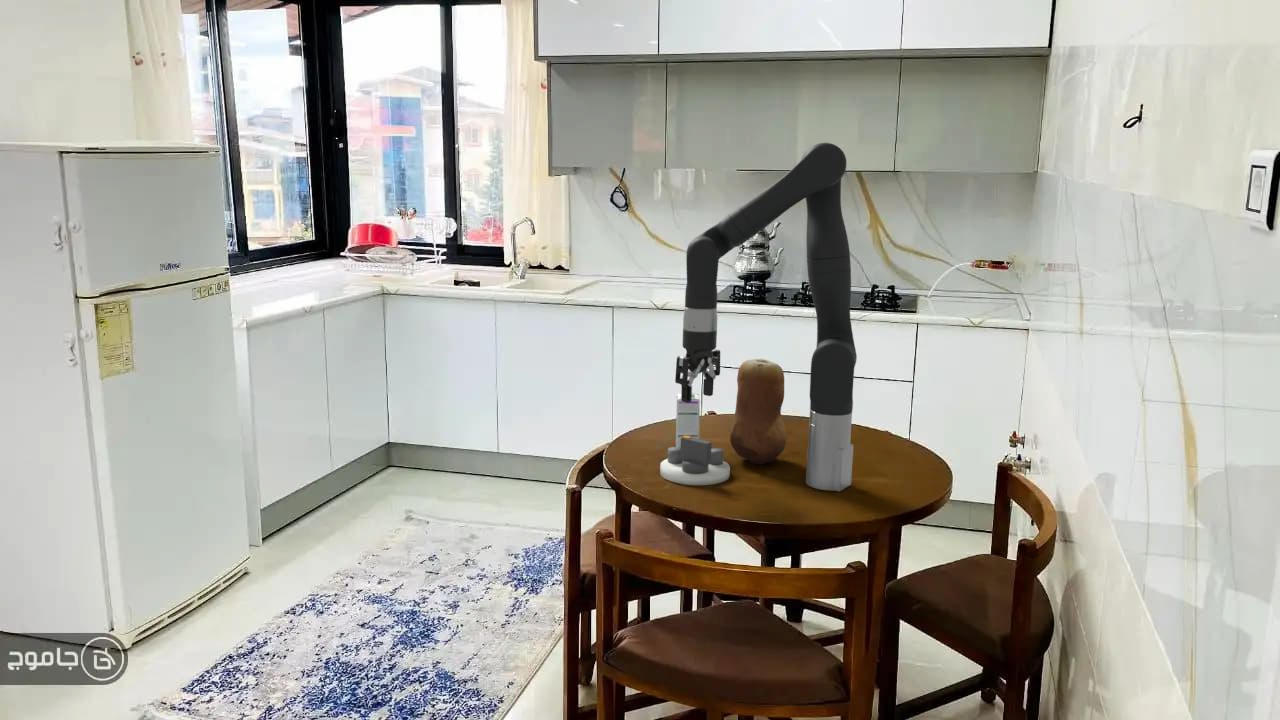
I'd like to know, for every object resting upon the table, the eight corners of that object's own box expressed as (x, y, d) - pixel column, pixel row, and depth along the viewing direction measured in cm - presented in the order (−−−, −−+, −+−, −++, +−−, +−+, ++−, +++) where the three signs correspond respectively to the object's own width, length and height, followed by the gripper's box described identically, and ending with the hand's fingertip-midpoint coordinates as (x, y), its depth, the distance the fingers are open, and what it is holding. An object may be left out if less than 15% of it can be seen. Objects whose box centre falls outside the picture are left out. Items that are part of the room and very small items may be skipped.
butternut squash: (791, 457, 233) (797, 358, 228) (776, 473, 221) (781, 368, 216) (738, 450, 239) (742, 352, 234) (720, 464, 227) (723, 362, 222)
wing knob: (715, 469, 215) (716, 438, 214) (700, 476, 211) (701, 444, 209) (689, 463, 220) (690, 433, 218) (674, 469, 215) (675, 438, 213)
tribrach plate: (742, 472, 221) (743, 452, 220) (705, 490, 208) (705, 468, 207) (685, 459, 230) (686, 439, 229) (646, 475, 217) (646, 454, 216)
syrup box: (699, 456, 233) (701, 398, 230) (675, 455, 233) (676, 398, 230) (698, 449, 238) (700, 393, 236) (674, 448, 239) (676, 392, 236)
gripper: (695, 333, 202) (693, 407, 205) (731, 325, 213) (728, 395, 216) (667, 329, 206) (665, 401, 210) (704, 321, 217) (701, 390, 221)
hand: (697, 398), depth 213 cm, fingers open, 8 cm apart
